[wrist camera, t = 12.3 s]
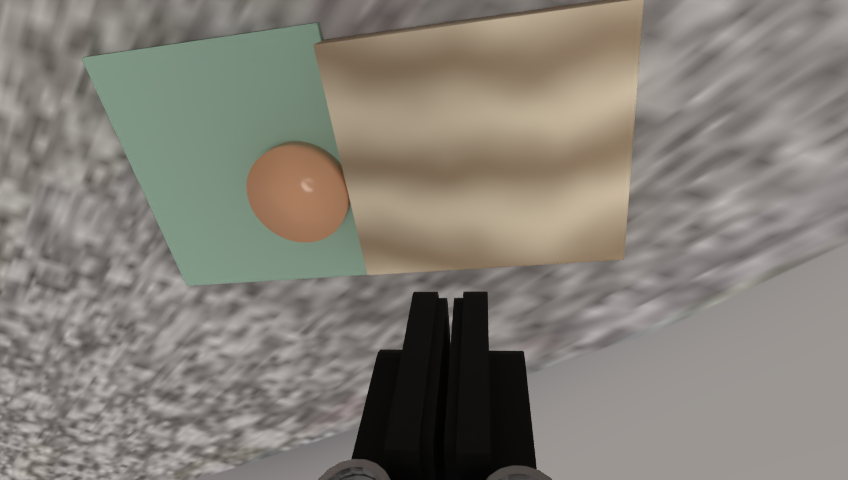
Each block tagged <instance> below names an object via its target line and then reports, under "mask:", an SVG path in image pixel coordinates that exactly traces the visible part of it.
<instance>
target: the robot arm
mask: <svg viewBox="0 0 848 480" xmlns="http://www.w3.org/2000/svg"><path fill="white" fill-rule="evenodd" d="M318 480H552V479H551V478H550V477H548V476H547V475H545V474H544V473H542V472H541V471H539V470H537V468H536V459H535V449H534V440H533V431H532V421H531V412H530V403H529V394H528V385H527V375H526V365H525V357H524V352H523V351H489V339H488V293H487V292H464V293H463V298H454V307H453V321H452V335H451V342H450V328H449V315H448V301H447V298H439V295H438V292H414V293H413V296H412V302H411V307H410V312H409V318H408V323H407V328H406V334H405V339H404V344H403V350H380V351H379V352H378V355H377V358H376V362H375V366H374V370H373V374H372V378H371V382H370V386H369V390H368V394H367V398H366V402H365V407H364V411H363V415H362V419H361V423H360V427H359V431H358V435H357V439H356V443H355V447H354V452H353V455H352V459H351V460H348V461H343V462H340V463H338V464H337V465H335V466H333V467H332V468H329V469H328V470H327V471H326V472H325V473H324V474H323V475H322V476H321V477H320V478H319V479H318Z"/></svg>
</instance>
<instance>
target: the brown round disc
mask: <svg viewBox="0 0 848 480" xmlns="http://www.w3.org/2000/svg"><path fill="white" fill-rule="evenodd" d="M246 189H247V196H248V200H249V203H250V206H251V208H252V210H253V212H254V213H255V215H256V216H257V218H258V219H259V220H260V221H261V222H262V223H263V224H264V225H265V226H266V227H267V228H268V229H269V230H271V231H272V232H274V233H275V234H277V235H279V236H281V237H283V238H285V239H288V240H291V241H295V242H306V243H307V242H315V241H319V240H322V239H325V238H327V237H328V236H330V235H331V234H333V233H334V232H335V231H336V230H337V229H338V228H339V226H340V225H341V223H342V222H343V220H344V218H345V217H346V215H347V213H348V211H349V208H350V205H351V203H350V199H349V195H348V190H347V186H346V182H345V178H344V173H343V169H342V165H341V164H340V163H339V162H338V160H337V159H336V158H335V157H334V156H332V155H331V154H330V153H329V152H327V151H326V150H324V149H322V148H321V147H319V146H316V145H314V144H311V143H307V142H301V141H291V142H285V143H281V144H279V145H276V146H274V147H273V148H271V149H270V150H268V151H267V152H266V153H265V154H263V155H262V156H261V157H260V158H259V159H258V160H256V162H255V163H254V164H253V166H252V167H251V169H250V171H249V174H248V178H247V186H246Z"/></svg>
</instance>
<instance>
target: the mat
mask: <svg viewBox="0 0 848 480" xmlns="http://www.w3.org/2000/svg"><path fill="white" fill-rule="evenodd" d="M322 40H323V38H322V34H321V29H320V25H319V22H318V23H311V24H304V25H297V26H291V27H284V28H277V29H270V30H264V31H257V32H250V33H244V34H237V35H230V36H223V37H217V38H210V39H203V40H196V41H190V42H183V43H176V44H169V45H163V46H156V47H149V48H142V49H136V50H129V51H122V52H115V53H109V54H102V55H95V56H88V57H83V58H81V59H82V61H83V63H84V65H85V67H86V69H87V72H88V74H89V76H90V78H91V80H92V82H93V84H94V87H95V89H96V91H97V93H98V95H99V97H100V100H101V102H102V104H103V106H104V108H105V110H106V113H107V115H108V117H109V119H110V121H111V123H112V125H113V128H114V130H115V132H116V134H117V136H118V138H119V141H120V143H121V145H122V147H123V149H124V151H125V153H126V156H127V158H128V160H129V162H130V164H131V166H132V169H133V171H134V173H135V175H136V177H137V179H138V182H139V184H140V186H141V188H142V190H143V192H144V194H145V197H146V199H147V201H148V203H149V205H150V207H151V210H152V212H153V214H154V216H155V218H156V220H157V222H158V225H159V227H160V229H161V231H162V233H163V235H164V238H165V240H166V242H167V244H168V246H169V248H170V251H171V253H172V255H173V257H174V259H175V261H176V263H177V266H178V268H179V270H180V272H181V274H182V276H183V279H184V281H185V283H186V285H187V286H191V285H208V284H224V283H240V282H257V281H273V280H289V279H305V278H322V277H338V276H354V275H367V271H366V267H365V262H364V258H363V254H362V250H361V245H360V241H359V237H358V233H357V228H356V224H355V220H354V216H353V212H352V207H351V205H350V208H349V211H348V213H347V215H346V217H345V218H344V220H343V222H342V223H341V225H340V226H339V228H338V229H337V230H336V231H335V232H334V233H333V234H331V235H330V236H328V237H327V238H325V239H322V240H319V241H315V242H307V243H306V242H295V241H291V240H288V239H285V238H283V237H281V236H279V235H277V234H275V233H274V232H272V231H271V230H269V229H268V228H267V227H266V226H265V225H264V224H263V223H262V222H261V221H260V220H259V219H258V218H257V216H256V215H255V213H254V212H253V210H252V208H251V206H250V203H249V200H248V196H247V189H246V186H247V178H248V174H249V171H250V169H251V167H252V166H253V164H254V163H255V162H256V160H258V159H259V158H260V157H261V156H262V155H263V154H265V153H266V152H267V151H268V150H270V149H271V148H273V147H274V146H276V145H279V144H281V143H285V142H291V141H301V142H307V143H311V144H314V145H316V146H319V147H321V148H322V149H324V150H326V151H327V152H329V153H330V154H331V155H332V156H334V157H335V158H336V159H337V160H338V162H339V163H340V164H341V161H340V157H339V152H338V148H337V144H336V140H335V135H334V131H333V127H332V123H331V118H330V114H329V110H328V106H327V102H326V97H325V93H324V89H323V85H322V80H321V76H320V72H319V68H318V63H317V59H316V55H315V51H314V47H313V45H314V44H316V43H318V42H320V41H322Z"/></svg>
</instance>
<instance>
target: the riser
mask: <svg viewBox="0 0 848 480" xmlns="http://www.w3.org/2000/svg"><path fill="white" fill-rule="evenodd" d="M643 3H644V0H601V1H594V2H587V3H580V4H573V5H566V6H559V7H552V8H545V9H538V10H531V11H524V12H517V13H510V14H503V15H496V16H489V17H482V18H475V19H468V20H461V21H453V22H446V23H439V24H432V25H425V26H418V27H411V28H404V29H397V30H390V31H383V32H376V33H369V34H362V35H355V36H348V37H341V38H334V39H327V40H322V41H320V42H318V43H316V44H314V45H313V47H314V51H315V55H316V59H317V63H318V68H319V72H320V76H321V80H322V85H323V89H324V93H325V97H326V102H327V106H328V110H329V114H330V118H331V123H332V127H333V131H334V135H335V140H336V144H337V148H338V152H339V157H340V161H341V165H342V169H343V173H344V178H345V182H346V186H347V190H348V195H349V199H350V203H351V207H352V212H353V216H354V220H355V224H356V228H357V233H358V237H359V241H360V245H361V250H362V254H363V258H364V262H365V267H366V271H367V275H379V274H395V273H412V272H428V271H444V270H461V269H477V268H493V267H510V266H526V265H542V264H559V263H575V262H591V261H607V260H624V253H625V240H626V226H627V213H628V200H629V187H630V174H631V161H632V148H633V135H634V121H635V108H636V95H637V82H638V69H639V56H640V43H641V30H642V16H643Z"/></svg>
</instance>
